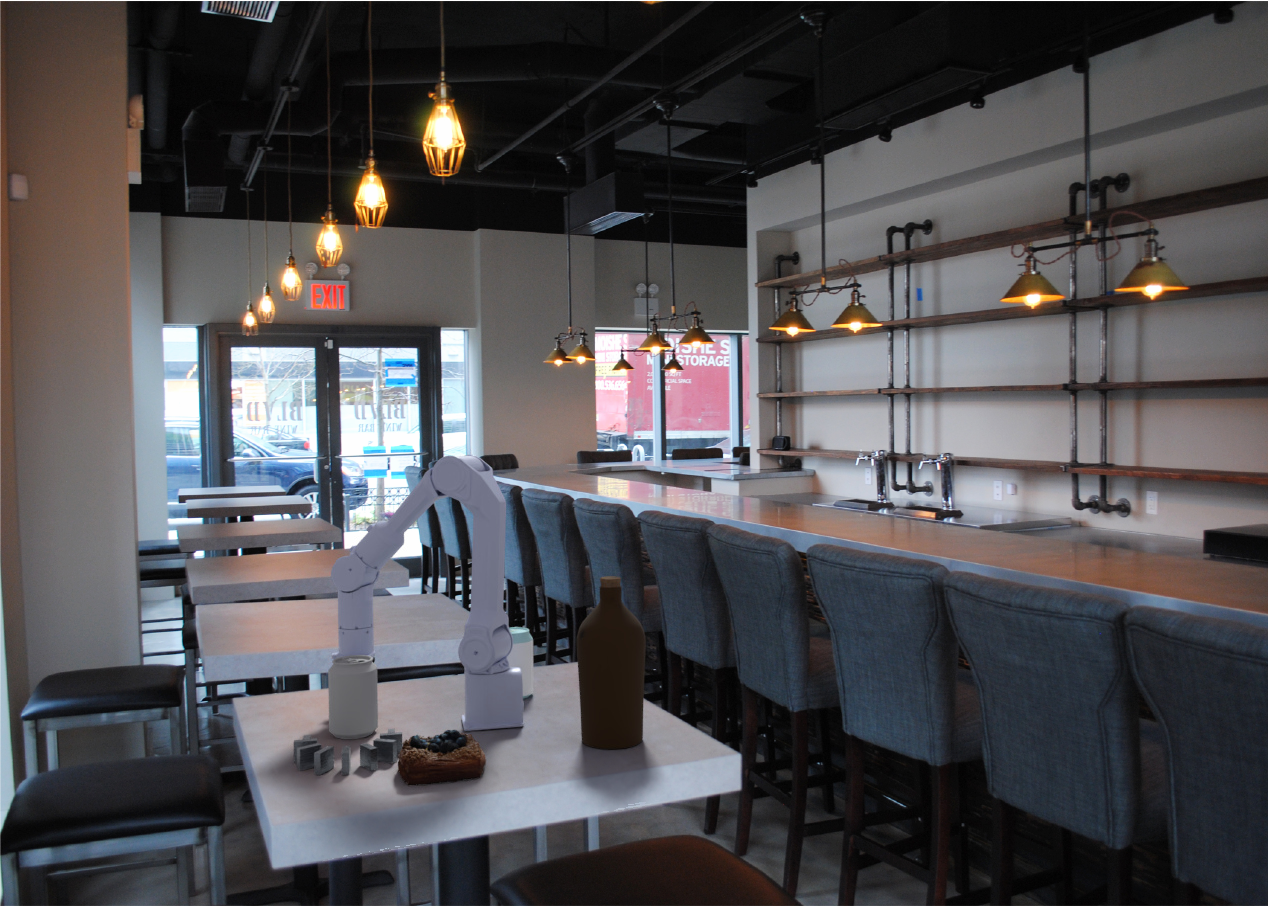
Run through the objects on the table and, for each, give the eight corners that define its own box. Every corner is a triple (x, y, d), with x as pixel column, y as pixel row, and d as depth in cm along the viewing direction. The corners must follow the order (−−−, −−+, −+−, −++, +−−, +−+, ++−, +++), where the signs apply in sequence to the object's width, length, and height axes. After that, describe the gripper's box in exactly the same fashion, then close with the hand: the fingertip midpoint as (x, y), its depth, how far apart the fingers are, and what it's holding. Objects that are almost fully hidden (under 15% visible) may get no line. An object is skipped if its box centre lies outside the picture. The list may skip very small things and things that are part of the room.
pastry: (395, 765, 137) (394, 724, 137) (478, 756, 141) (478, 716, 141) (400, 791, 127) (400, 747, 127) (490, 780, 131) (490, 737, 131)
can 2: (499, 703, 169) (498, 635, 169) (490, 693, 175) (489, 628, 175) (538, 698, 171) (537, 631, 171) (527, 689, 178) (527, 625, 178)
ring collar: (402, 747, 144) (402, 727, 144) (401, 770, 134) (401, 748, 134) (296, 756, 141) (296, 735, 141) (287, 779, 131) (287, 757, 131)
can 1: (364, 742, 147) (363, 664, 147) (319, 739, 149) (318, 662, 149) (386, 727, 155) (385, 653, 155) (343, 725, 156) (342, 652, 156)
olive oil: (625, 755, 140) (623, 584, 139) (564, 745, 145) (562, 580, 145) (658, 735, 149) (657, 575, 149) (600, 726, 154) (598, 571, 154)
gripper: (334, 620, 167) (335, 697, 167) (327, 636, 153) (328, 720, 153) (376, 618, 169) (377, 694, 169) (373, 633, 155) (374, 717, 155)
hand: (357, 707), depth 161 cm, fingers open, 7 cm apart
